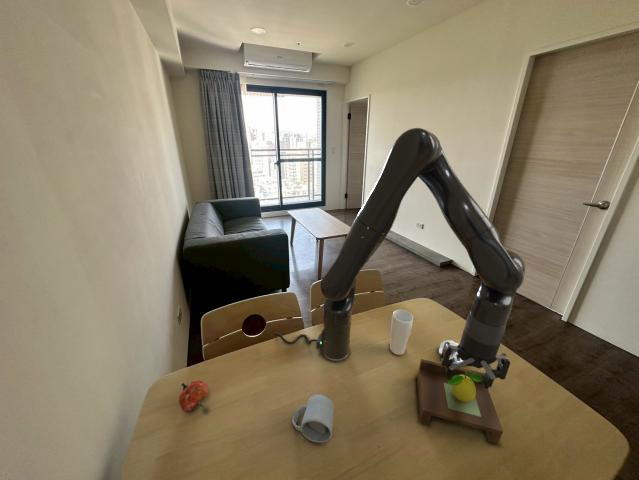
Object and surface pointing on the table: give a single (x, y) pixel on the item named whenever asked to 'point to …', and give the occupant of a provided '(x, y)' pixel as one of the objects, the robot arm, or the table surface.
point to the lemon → (464, 386)
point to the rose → (450, 344)
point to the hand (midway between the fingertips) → (466, 381)
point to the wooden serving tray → (455, 400)
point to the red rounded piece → (192, 395)
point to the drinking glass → (400, 331)
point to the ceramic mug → (316, 418)
